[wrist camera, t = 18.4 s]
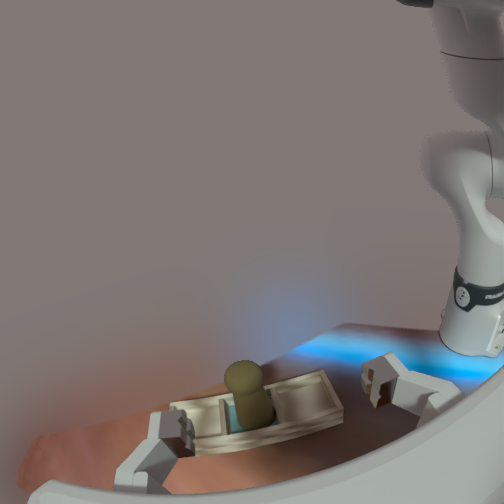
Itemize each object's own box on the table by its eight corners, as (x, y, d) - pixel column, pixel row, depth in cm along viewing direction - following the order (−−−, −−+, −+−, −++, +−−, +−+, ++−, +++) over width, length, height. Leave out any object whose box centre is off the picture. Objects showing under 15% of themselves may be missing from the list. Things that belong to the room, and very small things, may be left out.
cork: (233, 407, 39) (215, 360, 35) (269, 397, 40) (257, 348, 36) (241, 435, 33) (221, 391, 30) (281, 424, 34) (270, 377, 31)
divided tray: (323, 384, 42) (323, 369, 41) (342, 422, 34) (343, 408, 33) (178, 416, 41) (170, 402, 39) (176, 457, 32) (166, 446, 31)
